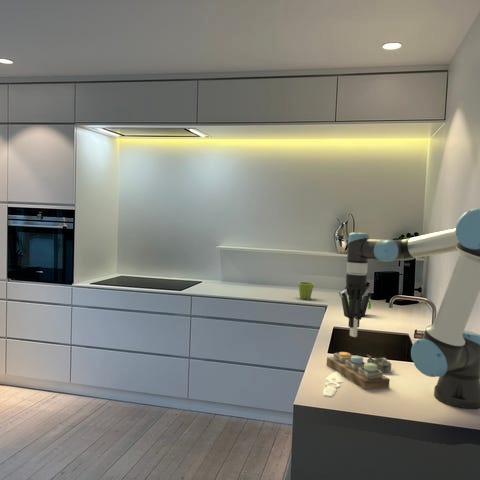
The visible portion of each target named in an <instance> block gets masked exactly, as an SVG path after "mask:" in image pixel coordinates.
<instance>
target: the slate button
mask: <svg viewBox="0 0 480 480" xmlns="http://www.w3.org/2000/svg"><path fill="white" fill-rule="evenodd" d="M363 362H364V357H363V356H361V355H353V356H351V363H352V364H354V365H360V364H363Z"/></svg>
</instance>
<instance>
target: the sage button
mask: <svg viewBox="0 0 480 480" xmlns="http://www.w3.org/2000/svg"><path fill="white" fill-rule="evenodd" d="M364 371H366V372H368V373H373V372H377V364H373V363H367V362H365V363H364Z"/></svg>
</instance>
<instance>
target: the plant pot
mask: <svg viewBox="0 0 480 480" xmlns="http://www.w3.org/2000/svg"><path fill="white" fill-rule="evenodd" d="M297 284H298V290H299V292H298V294H299V298H300V300H308V301H309V300H311V297H312V293H313V290H314V285H315V283H313V282H309V281H298V282H297Z"/></svg>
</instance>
